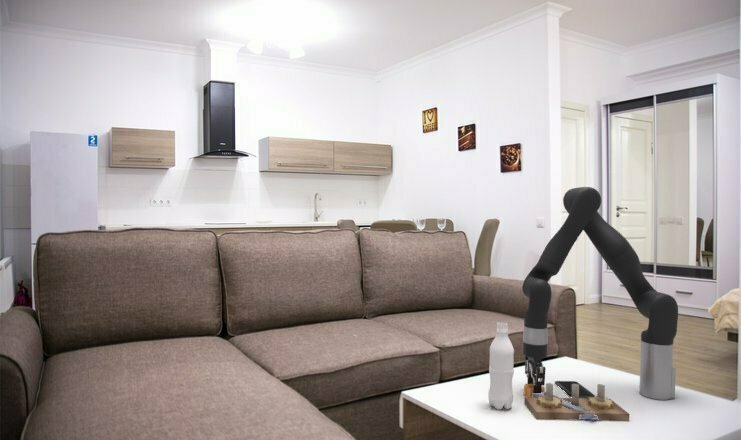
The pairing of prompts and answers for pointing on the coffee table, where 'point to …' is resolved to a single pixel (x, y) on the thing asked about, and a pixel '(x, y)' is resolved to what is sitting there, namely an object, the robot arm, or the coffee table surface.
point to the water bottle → (501, 369)
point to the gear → (530, 389)
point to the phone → (568, 388)
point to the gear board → (574, 413)
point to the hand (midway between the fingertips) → (534, 393)
